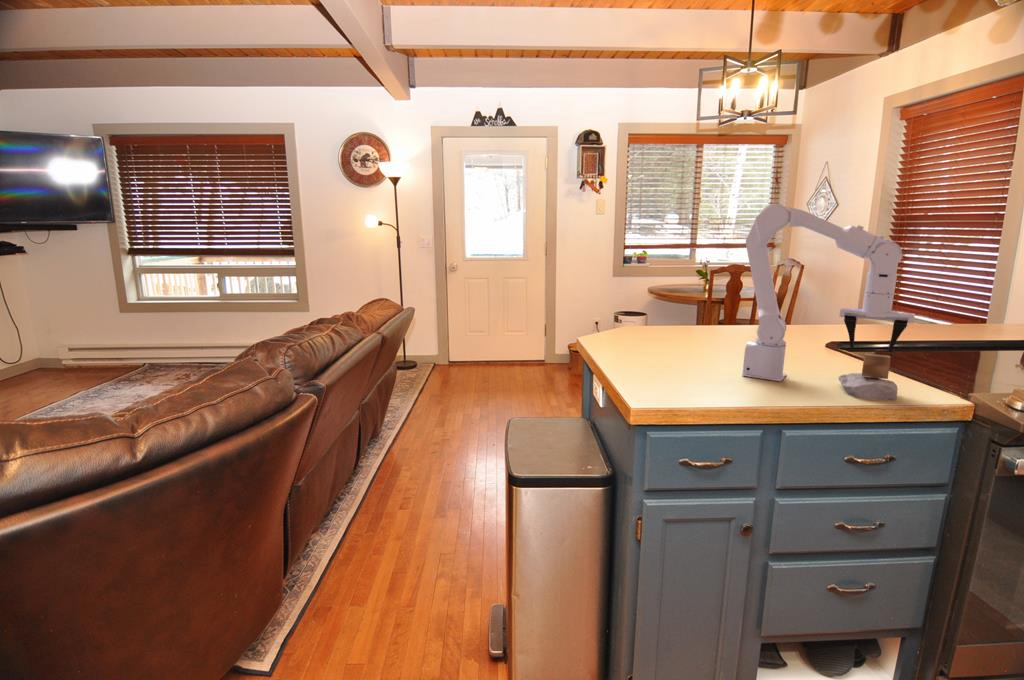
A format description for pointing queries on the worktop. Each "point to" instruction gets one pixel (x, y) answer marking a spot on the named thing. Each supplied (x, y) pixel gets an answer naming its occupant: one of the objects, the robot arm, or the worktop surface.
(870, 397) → the stone block
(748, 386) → the worktop surface
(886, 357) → the walnut cube
